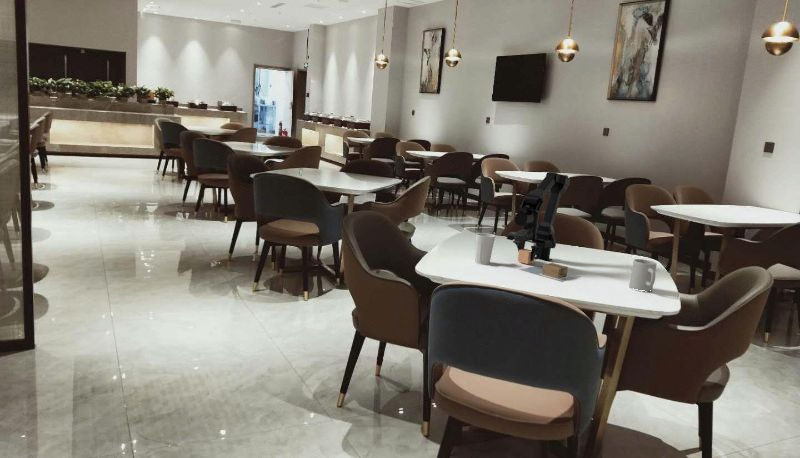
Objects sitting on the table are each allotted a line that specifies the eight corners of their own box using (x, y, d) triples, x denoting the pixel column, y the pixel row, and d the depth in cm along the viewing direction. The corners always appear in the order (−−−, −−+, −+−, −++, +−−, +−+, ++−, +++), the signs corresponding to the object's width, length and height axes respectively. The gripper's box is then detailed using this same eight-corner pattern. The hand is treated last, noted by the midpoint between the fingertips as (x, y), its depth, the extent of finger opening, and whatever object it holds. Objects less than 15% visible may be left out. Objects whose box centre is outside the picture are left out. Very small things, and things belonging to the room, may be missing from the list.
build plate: (539, 266, 259) (539, 265, 258) (582, 278, 245) (582, 276, 245) (518, 271, 247) (518, 269, 247) (561, 283, 234) (562, 281, 233)
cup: (491, 266, 251) (494, 237, 249) (472, 263, 253) (475, 235, 251) (492, 261, 259) (495, 234, 257) (473, 259, 260) (476, 232, 258)
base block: (551, 272, 247) (552, 262, 247) (566, 276, 243) (567, 266, 242) (541, 274, 242) (543, 264, 242) (557, 278, 238) (558, 268, 237)
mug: (624, 285, 240) (629, 258, 238) (644, 286, 242) (649, 259, 240) (640, 294, 229) (645, 266, 227) (661, 295, 230) (666, 267, 228)
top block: (523, 259, 263) (525, 248, 262) (533, 262, 260) (535, 251, 259) (517, 261, 259) (519, 249, 258) (527, 263, 256) (529, 252, 255)
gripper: (501, 220, 257) (497, 256, 260) (539, 229, 244) (534, 266, 247) (516, 219, 265) (511, 254, 268) (554, 227, 252) (548, 263, 255)
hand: (526, 259), depth 259 cm, fingers closed on top block, 5 cm apart
